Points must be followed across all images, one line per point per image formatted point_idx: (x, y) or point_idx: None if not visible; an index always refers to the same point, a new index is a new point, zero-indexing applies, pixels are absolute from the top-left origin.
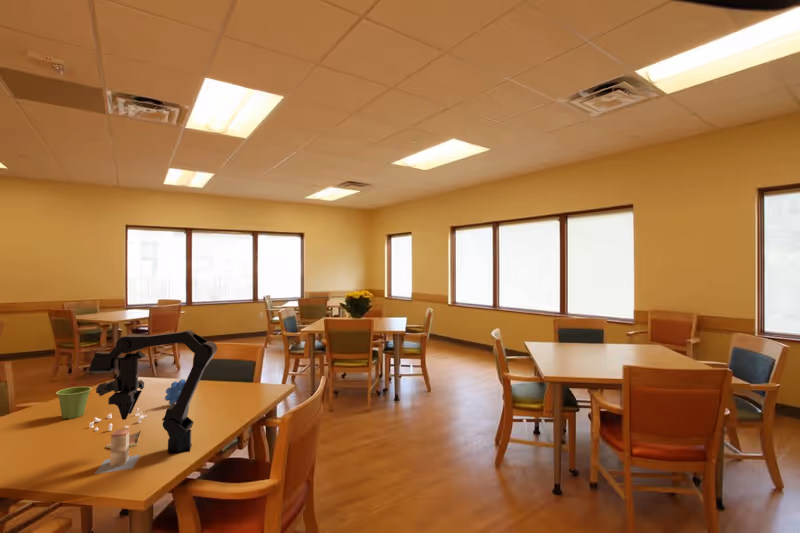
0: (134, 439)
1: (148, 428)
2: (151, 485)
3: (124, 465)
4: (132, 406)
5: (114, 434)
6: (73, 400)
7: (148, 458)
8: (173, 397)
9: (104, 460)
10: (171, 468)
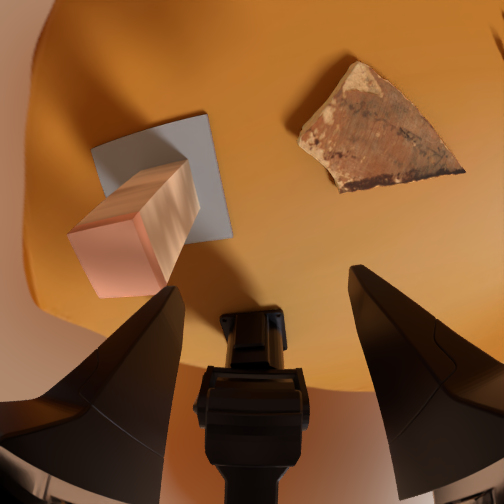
0: (384, 172)
1: (491, 182)
2: (74, 311)
3: None
4: (368, 353)
5: (75, 248)
6: None
7: (206, 267)
8: None
9: (197, 116)
10: None
